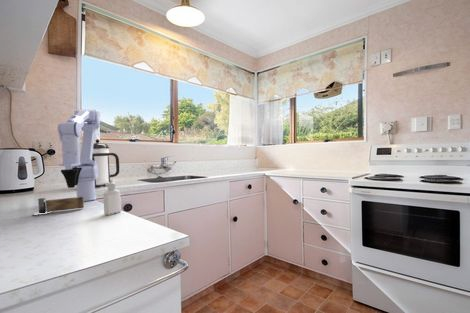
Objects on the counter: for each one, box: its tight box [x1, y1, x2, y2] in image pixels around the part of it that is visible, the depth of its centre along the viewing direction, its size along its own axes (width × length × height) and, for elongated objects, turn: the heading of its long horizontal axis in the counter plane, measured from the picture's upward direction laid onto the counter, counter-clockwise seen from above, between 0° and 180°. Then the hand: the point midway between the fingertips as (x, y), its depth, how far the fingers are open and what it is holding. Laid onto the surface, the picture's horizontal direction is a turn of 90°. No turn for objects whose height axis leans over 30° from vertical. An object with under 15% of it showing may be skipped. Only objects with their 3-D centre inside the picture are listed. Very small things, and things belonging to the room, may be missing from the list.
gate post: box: [37, 197, 46, 213], centre depth 88 cm, size 5×5×6 cm
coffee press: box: [92, 138, 120, 189], centre depth 155 cm, size 17×16×30 cm
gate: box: [45, 196, 85, 212], centre depth 91 cm, size 12×2×4 cm, turn 115°
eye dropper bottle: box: [102, 178, 122, 216], centre depth 85 cm, size 4×6×12 cm
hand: (73, 186), depth 96 cm, fingers open, 6 cm apart
